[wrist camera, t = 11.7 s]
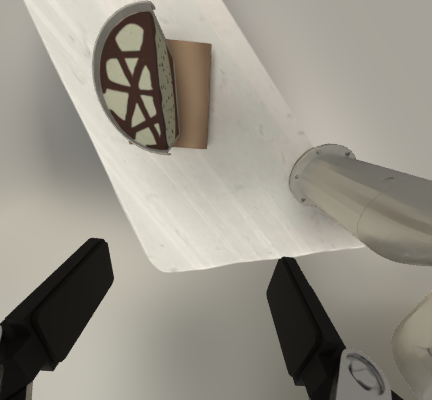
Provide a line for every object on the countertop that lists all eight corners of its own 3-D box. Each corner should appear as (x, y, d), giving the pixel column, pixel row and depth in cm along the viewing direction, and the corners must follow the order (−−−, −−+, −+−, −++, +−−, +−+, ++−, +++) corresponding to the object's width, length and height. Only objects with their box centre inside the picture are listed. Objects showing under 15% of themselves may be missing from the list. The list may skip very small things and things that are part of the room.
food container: (123, 42, 21) (60, -13, 12) (172, 43, 22) (146, -10, 13) (141, 145, 27) (106, 159, 18) (181, 145, 27) (166, 158, 18)
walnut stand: (211, 54, 25) (211, 43, 22) (206, 145, 31) (206, 149, 27) (127, 46, 25) (113, 33, 21) (138, 140, 30) (129, 144, 27)
